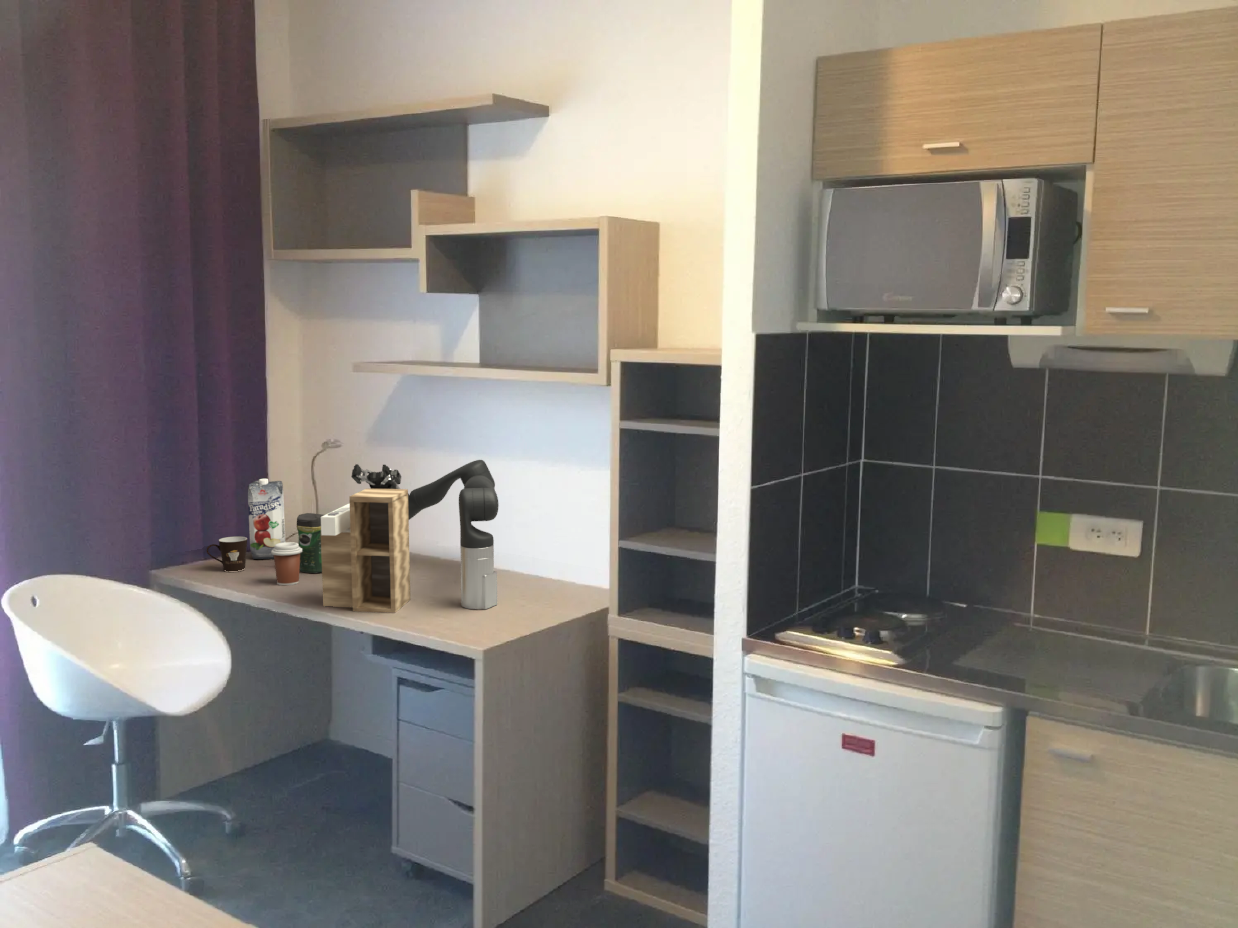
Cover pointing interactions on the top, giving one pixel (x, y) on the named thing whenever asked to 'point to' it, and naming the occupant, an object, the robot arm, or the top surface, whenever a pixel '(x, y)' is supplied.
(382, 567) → the step shelf
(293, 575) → the coffee cup
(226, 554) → the coffee mug
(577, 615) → the top surface
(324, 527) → the white long block
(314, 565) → the coffee jar
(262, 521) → the juice carton
